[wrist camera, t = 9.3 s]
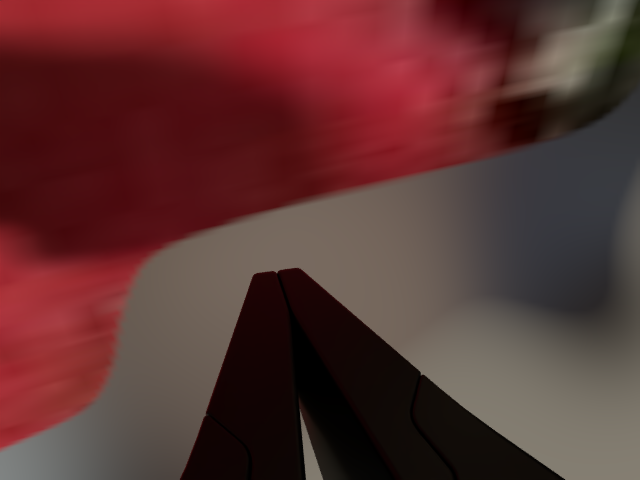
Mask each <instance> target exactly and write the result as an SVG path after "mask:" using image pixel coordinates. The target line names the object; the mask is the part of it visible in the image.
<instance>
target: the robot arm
mask: <svg viewBox="0 0 640 480" xmlns="http://www.w3.org/2000/svg"><path fill="white" fill-rule="evenodd" d="M300 411H301V414H302V417H303V420H304V423H305V426H306V429H307V432H308V435H309V438H310V441H311V444H312V447H313V450H314V453H315V456H316V459H317V462H318V465H319V468H320V471H321V474H322V477H323V480H565V479H564V478H562V477H561V476H559V475H558V474H556V473H555V472H554V471H552V470H551V469H549V468H548V467H546V466H545V465H543V464H542V463H541V462H539V461H538V460H536V459H535V458H534V457H532V456H531V455H529V454H528V453H526V452H525V451H523V450H522V449H521V448H519V447H517V446H516V445H515V444H513V443H512V442H511V441H509V440H508V439H506V438H505V437H503V436H502V435H501V434H499V433H498V432H496V431H495V430H493V429H492V428H491V427H489V426H488V425H487V424H485V423H484V422H482V421H481V420H480V419H478V418H477V417H476V416H474V415H473V414H472V413H470V412H469V411H467V410H466V409H465V408H463V407H462V406H461V405H460V404H459V403H457V402H456V401H455V400H454V399H452V398H451V397H450V396H449V395H447V394H446V393H445V392H444V391H443V390H441V389H440V388H439V387H438V386H437V385H435V384H434V383H433V382H432V381H430V379H428V378H427V377H426V376H425V375H421V372H420V371H419V370H418V369H416V368H415V367H414V366H413V365H412V364H411V363H410V362H408V361H407V360H406V359H405V358H404V357H403V356H401V355H400V354H399V353H398V352H397V351H396V350H394V349H393V348H392V347H391V346H390V345H389V344H387V343H386V342H385V341H384V340H383V339H382V338H380V337H379V336H378V335H377V334H376V333H375V332H373V331H372V330H371V329H370V328H369V327H368V326H366V325H365V324H364V323H363V322H362V321H361V320H359V319H358V318H357V317H356V316H355V315H353V314H352V313H351V312H350V311H349V310H348V309H347V308H346V307H344V306H343V305H342V304H341V303H340V302H339V301H337V300H336V299H335V298H334V297H333V296H332V295H330V294H329V293H328V292H327V291H326V290H325V289H323V288H322V287H321V286H320V285H319V284H318V283H316V282H315V281H314V280H313V279H312V278H311V277H309V276H308V275H307V274H306V273H305V272H304V271H303V270H301V269H299V268H292V269H284V270H280V271H278V273H276V272H274V271H270V272H262V273H256V274H254V275H253V277H252V280H251V283H250V286H249V289H248V292H247V295H246V298H245V300H244V303H243V306H242V309H241V312H240V315H239V318H238V321H237V324H236V327H235V329H234V332H233V335H232V338H231V341H230V344H229V347H228V350H227V353H226V355H225V359H224V361H223V364H222V367H221V370H220V373H219V376H218V379H217V382H216V385H215V387H214V390H213V393H212V396H211V399H210V402H209V405H208V408H207V411H206V416H205V417H204V419H203V421H202V424H201V427H200V430H199V433H198V436H197V439H196V441H195V444H194V446H193V449H192V451H191V454H190V457H189V459H188V462H187V464H186V467H185V469H184V472H183V473H182V476H181V478H180V480H306V475H305V464H304V453H303V442H302V431H301V420H300Z"/></svg>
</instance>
